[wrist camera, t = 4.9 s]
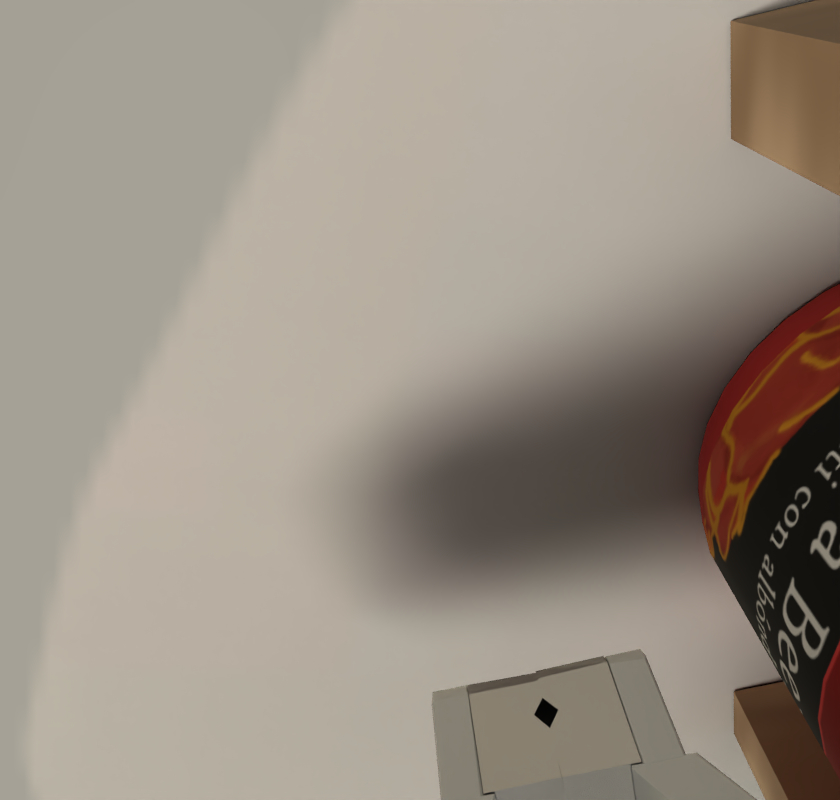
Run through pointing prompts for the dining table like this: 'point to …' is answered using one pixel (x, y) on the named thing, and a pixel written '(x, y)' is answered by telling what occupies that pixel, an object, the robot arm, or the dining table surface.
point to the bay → (836, 171)
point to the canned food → (784, 504)
